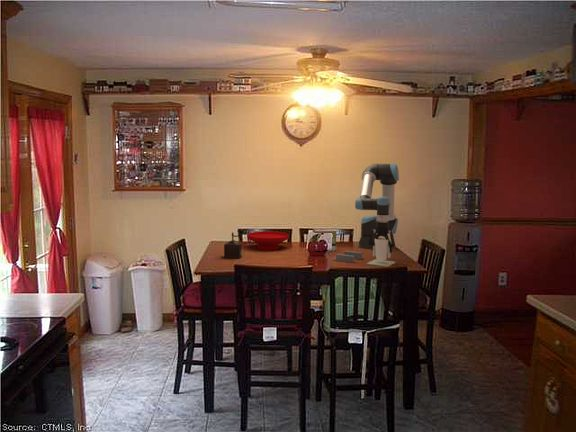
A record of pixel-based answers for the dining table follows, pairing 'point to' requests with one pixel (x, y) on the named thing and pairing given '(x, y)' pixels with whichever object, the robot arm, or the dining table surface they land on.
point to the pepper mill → (233, 247)
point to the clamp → (348, 256)
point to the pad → (381, 263)
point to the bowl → (268, 239)
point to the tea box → (328, 232)
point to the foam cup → (381, 248)
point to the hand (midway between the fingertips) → (381, 256)
